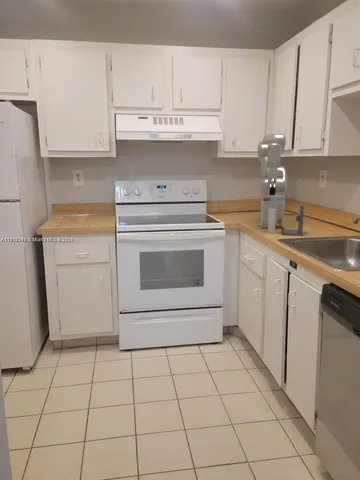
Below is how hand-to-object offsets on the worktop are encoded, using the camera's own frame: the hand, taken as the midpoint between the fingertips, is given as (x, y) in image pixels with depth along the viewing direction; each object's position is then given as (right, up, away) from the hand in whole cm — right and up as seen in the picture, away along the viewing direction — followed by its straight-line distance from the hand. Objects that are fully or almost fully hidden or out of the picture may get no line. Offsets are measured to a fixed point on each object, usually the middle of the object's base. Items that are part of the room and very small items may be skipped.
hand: (272, 194), depth 218 cm
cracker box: (+5, -19, +21) cm, 29 cm away
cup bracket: (+11, -23, +1) cm, 26 cm away
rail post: (0, -22, +4) cm, 23 cm away
